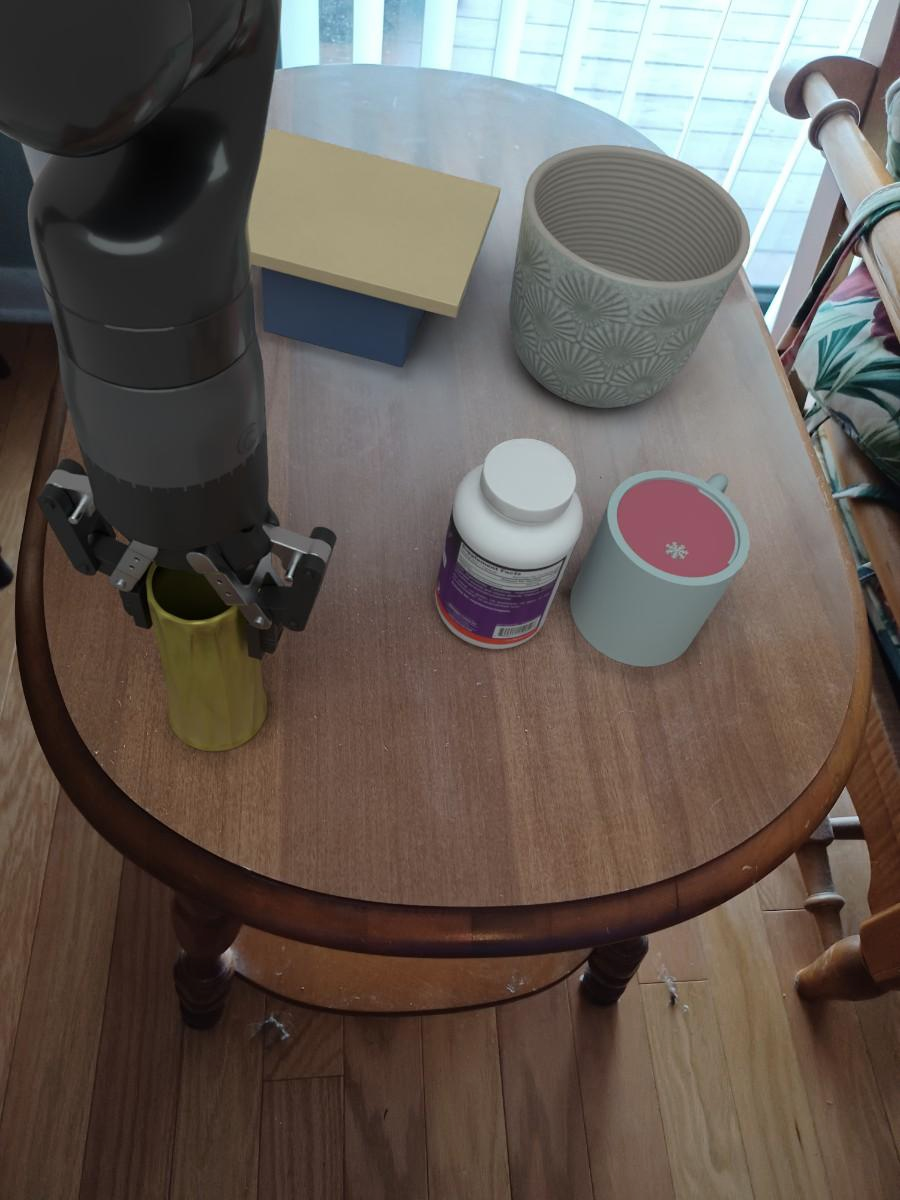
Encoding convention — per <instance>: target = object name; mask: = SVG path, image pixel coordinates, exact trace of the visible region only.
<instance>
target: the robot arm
mask: <svg viewBox="0 0 900 1200" xmlns="http://www.w3.org/2000/svg"><path fill="white" fill-rule="evenodd" d="M282 7H283V0H0V133H1V134H3V135H4V136H6V137H8V138H10V139H12V140H14V141H17V142H18V143H20V144H23V145H24V146H26V147H29V148H31V149H34V150H35V151H38V152H42V153H45V154H48V155H49V157H48V158H47V159H46V161H45V162H44V164H43V166H42V168H41V169H40V171H39V173H38V175H37V176H36V179H35V181H34V183H33V186H32V189H31V191H30V195H29V198H28V203H27V221H28V230H29V232H28V233H29V238H30V244H31V248H32V249H31V250H32V253H33V257H34V258H33V259H34V262H35V265H36V268H37V272H38V275H39V279H40V283H41V286H42V290H43V293H44V294H43V295H44V297H45V301H46V305H47V308H48V312H49V317H50V319H51V323H52V326H53V330H54V333H55V334H54V335H55V338H56V343H57V351H58V362H59V374H60V380H61V385H62V389H63V393H64V398H65V401H66V405H67V409H68V412H69V415H70V419H71V423H72V426H73V429H74V432H75V436H76V441H77V444H78V448H79V451H80V454H81V458H82V462H83V465H84V466H83V465H81V464H80V462H77V460H74V459H71V458H66V457H65V458H62V459H61V460H60V461H59V462H58V465H57V466H56V467H55V469H54V470H53V471H52V473H51V474H50V476H49V477H48V479H47V480H46V482H45V483H44V485H43V487H42V489H41V491H40V492H39V494H38V495H37V497H36V498H35V499H36V503H37V505H38V507H39V509H40V510H41V512H42V514H43V515H44V517H45V519H46V521H47V523H48V524H49V526H50V528H51V529H52V531H53V533H54V535H55V536H56V539H57V541H58V542H59V544H60V546H61V547H62V549H63V551H64V552H65V555H66V556H67V558H68V559H69V561H70V562H71V565H72V567H73V568H74V569H75V570H76V571H77V572H79V573H80V574H81V575H85V576H90V577H93V576H95V575H96V574H97V572H99V573H102V574H104V575H106V576H108V577H109V578H108V582H109V584H110V585H111V586H112V587H113V588H114V589H115V590H118V593H119V595H120V599H121V602H122V603H121V604H122V607H123V609H124V611H125V612H126V613H127V614H128V616H130V617H133V622H134V625H135V626H136V627H139V628H142V629H146V630H150V629H151V628H152V627H153V623H152V618H151V614H150V609H149V604H148V599H147V587H146V579H147V574H148V571H149V569H150V566H151V565H152V564H153V562H154V561H155V564H156V566H160V567H164V568H167V569H171V570H180V571H187V572H189V573H191V574H194V575H196V576H199V577H201V578H204V579H207V580H208V581H209V583H210V584H211V585H212V587H213V588H214V589H215V591H216V592H217V593H218V595H219V596H220V597H221V599H222V600H223V601H224V603H225V604H226V605H237V607H238V608H239V610H240V611H241V612H242V614H243V615H244V616H245V618H246V619H247V622H246V634H247V645H248V656H249V657H252V658H255V659H259V660H260V661H262V660H263V659H264V657H265V654H270V655H273V654H274V653H275V652H276V650H277V647H278V645H279V643H280V640H281V637H282V635H283V632H284V630H285V628H286V629H287V630H289V631H291V632H296V633H300V632H303V631H305V629H306V626H307V624H308V621H309V619H310V616H311V613H312V611H313V608H314V607H315V604H316V601H317V599H318V596H319V593H320V590H321V587H322V584H323V581H324V579H325V575H326V573H327V569H328V566H329V563H330V561H331V558H332V554H333V551H334V548H335V546H336V543H337V539H338V538H337V534H336V533H335V532H334V531H333V530H331V528H327V527H326V526H316V527H314V528H313V529H312V530H311V533H310V535H309V536H307V535H304V534H301V533H298V532H295V531H293V530H290V529H287V528H285V527H282V526H281V524H280V520H279V518H278V517H279V516H278V515H277V514H276V513H275V512H274V510H273V508H272V506H271V505H270V502H269V493H270V492H269V491H270V489H269V488H270V485H269V484H270V477H269V475H270V474H269V455H268V454H269V453H268V434H267V432H268V431H267V411H266V410H267V409H266V389H265V372H264V362H263V361H264V360H263V357H262V351H261V347H260V342H259V339H258V335H257V334H258V333H257V328H256V320H255V318H256V317H255V302H254V301H255V300H254V299H255V297H254V279H253V278H254V277H253V265H252V259H251V248H250V238H249V230H248V222H249V213H250V207H251V201H252V195H253V190H254V186H255V182H256V178H257V174H258V169H259V165H260V161H261V156H262V151H263V144H264V138H265V137H266V131H267V130H266V129H267V125H268V124H267V123H268V119H269V118H268V117H269V111H270V105H271V104H270V103H271V98H272V93H273V86H274V79H275V73H276V72H275V71H276V66H277V58H278V51H279V43H280V33H281V24H282ZM115 530H116V531H117V532H118V533H119V534H121V535H122V537H124V539H125V540H127V541H128V544H127V543H124V542H122V541H119V540H117V539H116V538H117V533H116V531H115ZM273 555H275V556H277V557H278V558H279V560H280V562H281V568H282V569H283V570H284V571H285V574H284V576H283V579H282V578H281V576H280V575H279V573H278V572H277V571H276V569H275V568H274V566H273V561H272V560H273ZM283 580H284V581H285V582H286V583H289V584H290V583H291V586H287V585H286V584H285V582H284V581H283Z"/></svg>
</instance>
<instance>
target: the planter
mask: <svg viewBox="0 0 900 1200" xmlns="http://www.w3.org/2000/svg"><path fill="white" fill-rule="evenodd" d="M520 217H521V218H520V224H519V231H518V239H517V247H516V253H515V261H514V268H513V275H512V281H511V282H512V283H511V289H510V297H509V305H508V306H509V309H508V310H509V328H510V334H511V339H512V342H513V345H514V348H515V350H516V353H517V356H518V358H519V360H520V362H521V363H522V364H523V366H524V368H525V369H526V370H527V371H528V373H529V374H530V375H531V376H532V378H534V379H535V380H536V381H537V382H538V383H539V384H540V385H541V386H542V387H544V388H545V389H546V390H547V391H548V392H550V393H552V394H553V395H555V396H557V397H559V398H561V399H564V400H565V401H568V402H570V403H574V404H577V405H580V406H584V407H590V408H596V409H610V408H612V409H613V408H621V407H626V406H631V405H634V404H637V403H640V402H643V401H645V400H647V399H649V398H652V397H653V396H654V395H656V394H657V393H660V391H662V390H663V389H664V388H666V386H668V385H669V384H670V383H671V382H672V381H673V380H674V379H675V378H676V377H677V376H678V375H679V373H681V371H682V370H683V369H684V368H685V366H686V365H687V363H688V362H689V361H690V358H691V357H692V355H693V354H694V353H695V350H696V348H697V347H698V345H699V343H700V341H701V339H702V338H703V336H704V334H705V332H706V331H707V329H708V327H709V325H710V323H711V321H712V320H713V318H714V316H715V314H716V312H717V311H718V308H719V307H720V305H721V303H722V302H723V300H724V298H725V296H726V295H727V292H728V291H729V289H730V288H731V286H732V283H733V281H734V280H735V278H736V276H737V275H738V272H739V271H740V269H741V268H742V265H743V264H744V262H745V261H746V258H747V256H748V253H749V249H750V246H751V231H750V228H749V223H748V220H747V218H746V215H745V214H744V212H743V210H742V208H741V206H740V205H739V204H738V202H737V201H736V199H734V198H733V196H731V194H730V193H729V192H728V191H727V190H726V189H725V188H724V187H723V186H721V185H720V184H719V183H717V181H716V180H714V179H712V177H710V176H708V175H707V174H705V173H704V172H702V171H700V170H699V169H697V168H695V167H693V166H691V165H689V164H688V163H685V162H683V161H681V160H678V159H676V158H673V157H671V156H668V155H665V154H663V153H660V152H656V151H653V150H648V149H645V148H638V147H633V146H627V145H617V144H616V145H615V144H597V145H595V144H594V145H586V146H579V147H573V148H570V149H568V150H567V149H566V150H564V151H561V152H559V153H556V154H554V155H552V156H550V157H549V158H547V159H546V160H544V161H543V162H541V163H540V164H539V165H538V166H537V167H536V168H535V169H534V171H533V172H532V173H531V174H530V176H529V178H528V180H527V183H526V186H525V189H524V195H523V201H522V209H521V216H520Z"/></svg>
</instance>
